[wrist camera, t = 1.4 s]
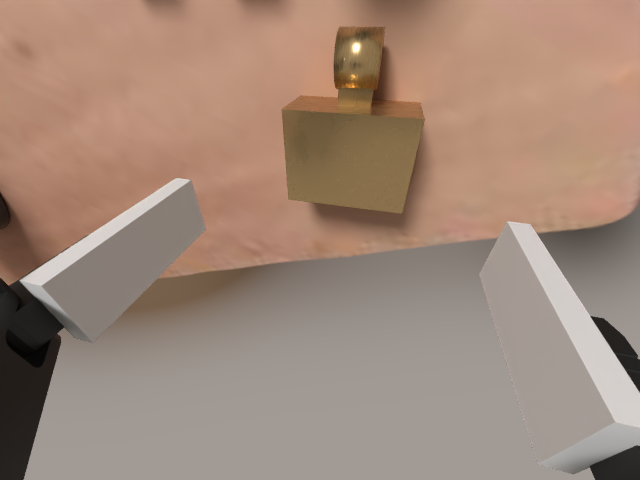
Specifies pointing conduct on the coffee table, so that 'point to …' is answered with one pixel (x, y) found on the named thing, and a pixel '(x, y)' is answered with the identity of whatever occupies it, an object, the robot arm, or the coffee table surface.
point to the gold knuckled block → (352, 134)
